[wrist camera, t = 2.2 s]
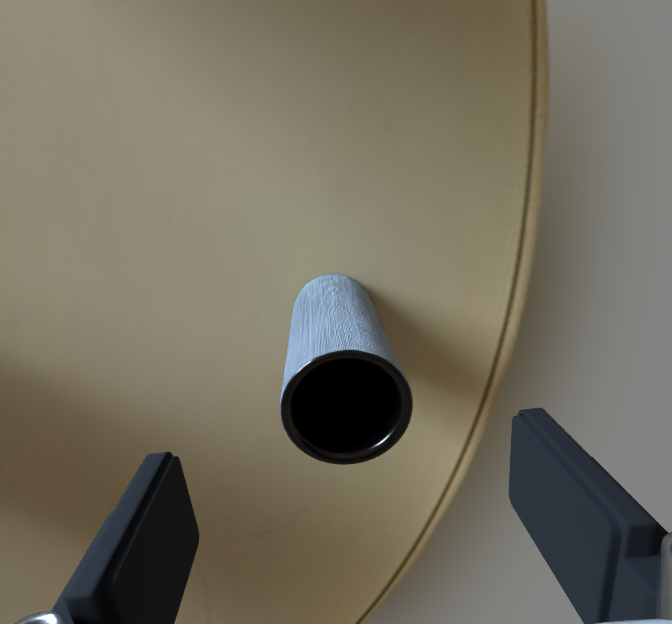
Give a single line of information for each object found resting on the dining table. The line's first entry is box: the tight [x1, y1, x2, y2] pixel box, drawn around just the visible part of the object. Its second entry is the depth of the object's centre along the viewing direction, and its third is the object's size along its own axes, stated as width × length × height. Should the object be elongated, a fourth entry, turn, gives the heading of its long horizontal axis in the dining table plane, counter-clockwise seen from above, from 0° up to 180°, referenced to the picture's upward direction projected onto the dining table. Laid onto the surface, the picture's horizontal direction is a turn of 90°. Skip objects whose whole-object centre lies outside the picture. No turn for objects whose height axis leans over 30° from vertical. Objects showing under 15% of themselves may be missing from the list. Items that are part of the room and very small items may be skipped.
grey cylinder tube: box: [280, 274, 413, 465], centre depth 18 cm, size 4×4×10 cm
